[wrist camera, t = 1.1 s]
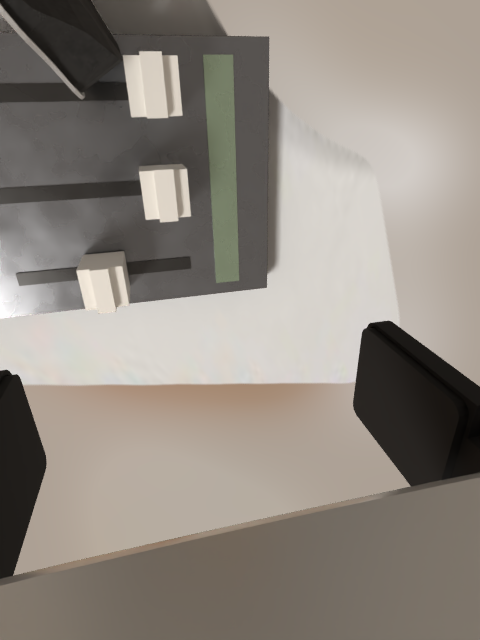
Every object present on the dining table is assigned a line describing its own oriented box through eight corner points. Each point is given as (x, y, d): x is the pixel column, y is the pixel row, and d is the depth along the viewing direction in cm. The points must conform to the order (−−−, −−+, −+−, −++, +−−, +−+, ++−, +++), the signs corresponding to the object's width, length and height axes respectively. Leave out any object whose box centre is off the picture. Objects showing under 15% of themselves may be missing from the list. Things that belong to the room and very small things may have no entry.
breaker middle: (138, 164, 27) (138, 171, 23) (181, 162, 27) (187, 168, 24) (145, 210, 28) (145, 223, 25) (185, 207, 29) (192, 220, 25)
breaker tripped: (82, 253, 28) (74, 272, 25) (123, 249, 29) (121, 267, 26) (91, 292, 30) (84, 315, 26) (130, 288, 31) (129, 310, 27)
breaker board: (-173, 37, 22) (-201, 29, 20) (260, 42, 27) (269, 36, 25) (-53, 314, 30) (-65, 326, 29) (260, 279, 35) (267, 288, 33)
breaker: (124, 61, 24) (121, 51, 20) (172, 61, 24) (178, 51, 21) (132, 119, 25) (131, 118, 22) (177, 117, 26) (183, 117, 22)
